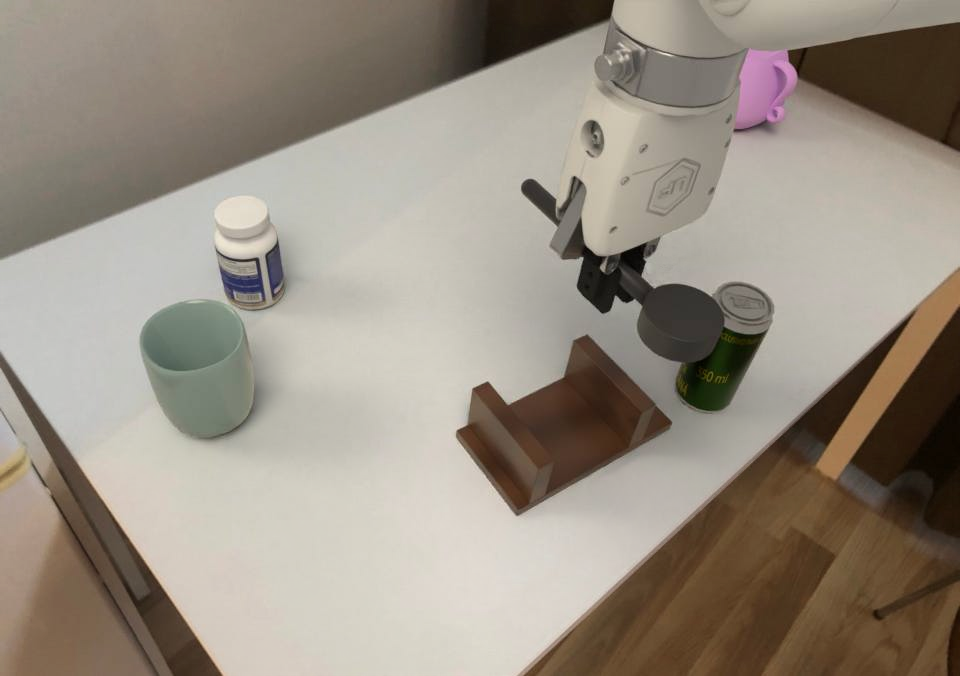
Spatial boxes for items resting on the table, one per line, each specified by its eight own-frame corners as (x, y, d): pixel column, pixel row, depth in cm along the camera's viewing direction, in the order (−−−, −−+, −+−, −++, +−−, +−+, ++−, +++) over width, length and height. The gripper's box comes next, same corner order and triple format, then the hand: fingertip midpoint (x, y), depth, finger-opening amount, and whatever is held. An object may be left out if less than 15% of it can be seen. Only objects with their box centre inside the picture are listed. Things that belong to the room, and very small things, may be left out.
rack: (670, 428, 71) (689, 386, 67) (516, 516, 64) (526, 475, 59) (605, 362, 76) (619, 318, 71) (455, 437, 68) (460, 393, 64)
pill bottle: (263, 263, 81) (251, 183, 73) (297, 294, 78) (288, 214, 71) (213, 288, 78) (195, 207, 70) (246, 321, 75) (231, 240, 68)
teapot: (804, 125, 108) (840, 43, 99) (743, 155, 102) (776, 70, 93) (693, 60, 118) (718, -20, 109) (631, 83, 112) (652, 1, 103)
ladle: (550, 181, 62) (554, 159, 61) (732, 343, 52) (742, 322, 50) (495, 200, 60) (498, 178, 58) (674, 374, 50) (683, 353, 48)
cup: (155, 394, 68) (128, 314, 61) (245, 367, 71) (229, 287, 64) (177, 464, 64) (150, 386, 57) (272, 433, 67) (258, 354, 60)
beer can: (726, 374, 76) (771, 283, 67) (734, 419, 72) (782, 329, 64) (670, 367, 76) (708, 275, 67) (675, 412, 72) (716, 321, 63)
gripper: (608, 126, 38) (550, 371, 52) (816, 57, 45) (717, 291, 59) (518, 54, 42) (485, 300, 56) (721, 2, 49) (649, 232, 63)
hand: (604, 294), depth 57 cm, fingers closed on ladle, 1 cm apart
